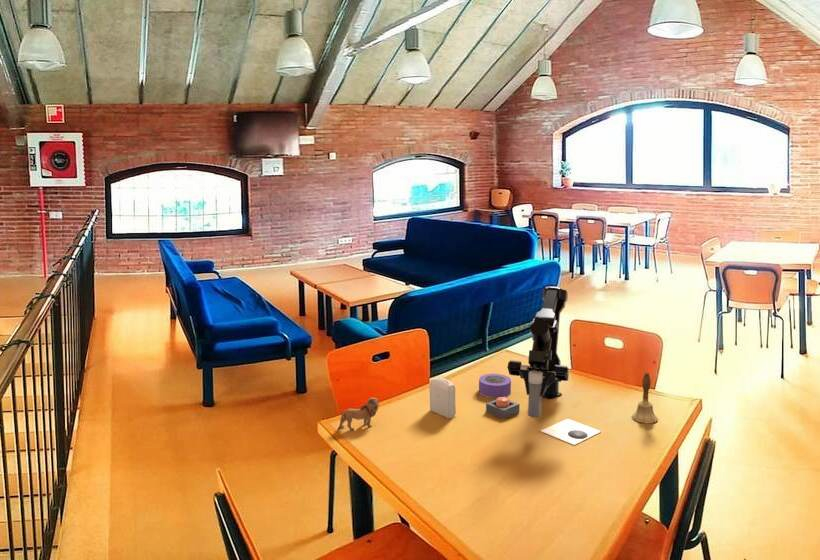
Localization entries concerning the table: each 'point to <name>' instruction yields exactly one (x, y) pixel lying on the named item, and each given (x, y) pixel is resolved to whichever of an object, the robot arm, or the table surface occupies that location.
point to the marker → (535, 393)
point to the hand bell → (645, 404)
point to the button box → (502, 409)
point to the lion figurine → (360, 413)
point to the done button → (502, 402)
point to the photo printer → (442, 397)
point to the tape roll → (494, 385)
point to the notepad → (571, 431)
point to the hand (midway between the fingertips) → (534, 395)
